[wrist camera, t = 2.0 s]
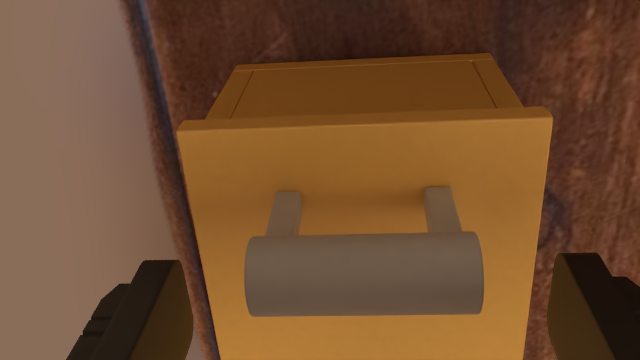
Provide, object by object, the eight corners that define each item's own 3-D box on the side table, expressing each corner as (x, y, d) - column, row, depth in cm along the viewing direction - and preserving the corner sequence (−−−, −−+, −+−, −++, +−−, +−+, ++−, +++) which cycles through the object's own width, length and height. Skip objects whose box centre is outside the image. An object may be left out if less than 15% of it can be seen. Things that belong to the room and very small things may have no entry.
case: (236, 64, 23) (188, 145, 17) (490, 52, 22) (541, 132, 16) (270, 315, 29) (245, 446, 23) (472, 313, 28) (504, 448, 22)
